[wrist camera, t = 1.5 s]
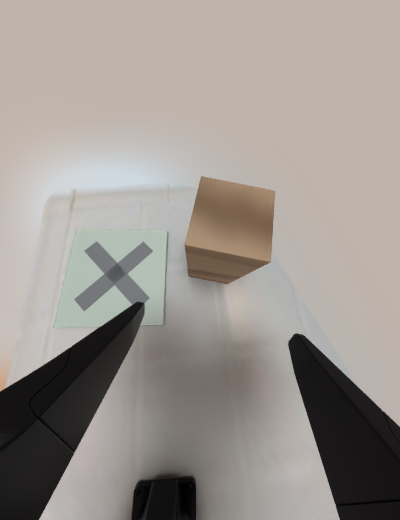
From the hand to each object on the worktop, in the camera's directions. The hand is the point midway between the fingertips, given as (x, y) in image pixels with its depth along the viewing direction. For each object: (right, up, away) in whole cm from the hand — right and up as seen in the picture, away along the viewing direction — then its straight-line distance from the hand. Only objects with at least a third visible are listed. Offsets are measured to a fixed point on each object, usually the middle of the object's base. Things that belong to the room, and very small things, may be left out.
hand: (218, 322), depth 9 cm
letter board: (-13, +1, +13) cm, 19 cm away
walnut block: (+1, +3, +15) cm, 15 cm away
